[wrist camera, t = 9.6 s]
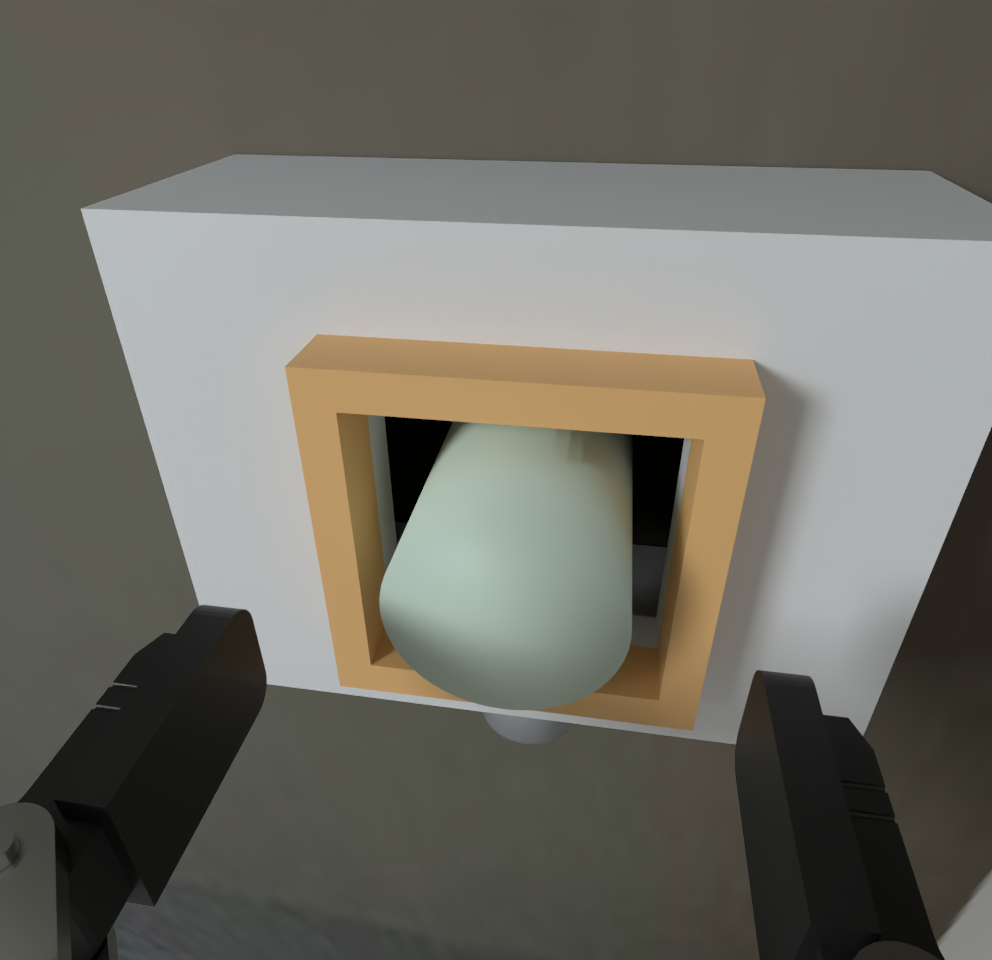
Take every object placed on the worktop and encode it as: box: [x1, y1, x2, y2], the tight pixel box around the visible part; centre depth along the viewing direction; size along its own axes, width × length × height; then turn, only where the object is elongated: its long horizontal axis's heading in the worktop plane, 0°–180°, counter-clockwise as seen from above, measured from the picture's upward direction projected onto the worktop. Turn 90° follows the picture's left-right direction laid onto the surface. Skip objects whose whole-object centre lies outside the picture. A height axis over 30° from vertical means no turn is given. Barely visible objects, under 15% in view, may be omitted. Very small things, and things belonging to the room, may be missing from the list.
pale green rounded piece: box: [379, 421, 633, 710], centre depth 16 cm, size 4×4×9 cm
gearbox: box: [81, 154, 992, 744], centre depth 18 cm, size 15×16×8 cm
